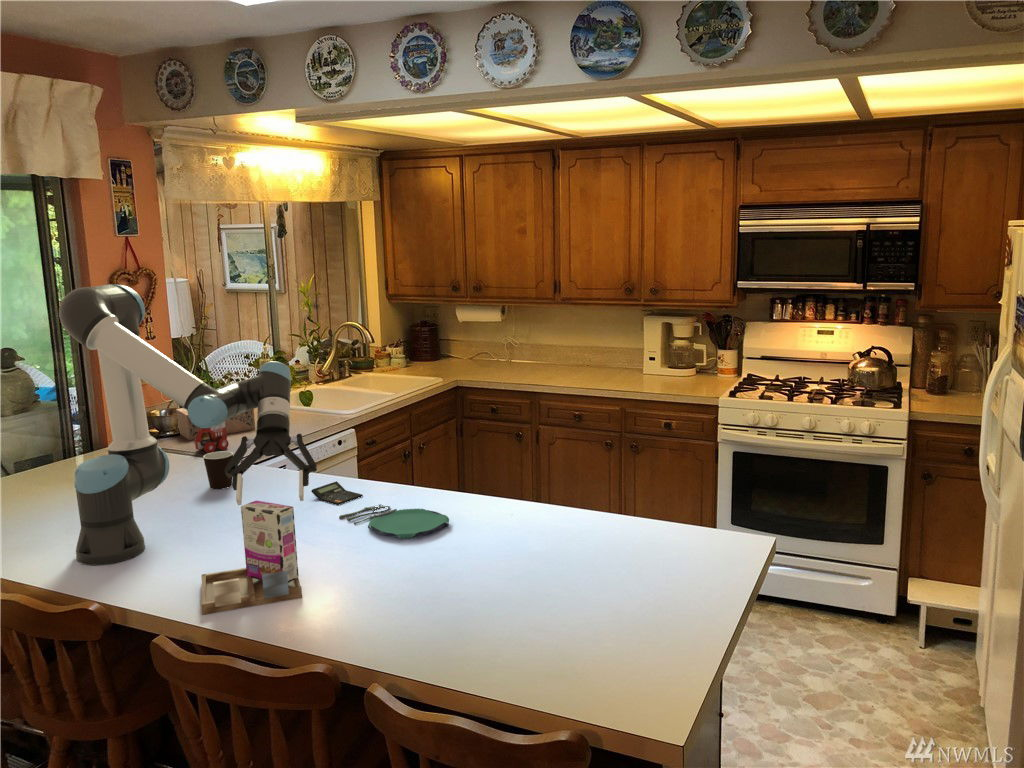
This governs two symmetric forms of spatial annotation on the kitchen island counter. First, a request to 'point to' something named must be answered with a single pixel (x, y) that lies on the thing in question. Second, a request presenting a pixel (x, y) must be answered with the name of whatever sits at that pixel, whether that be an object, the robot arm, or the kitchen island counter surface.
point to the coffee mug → (218, 469)
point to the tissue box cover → (233, 424)
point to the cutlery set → (402, 521)
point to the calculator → (334, 493)
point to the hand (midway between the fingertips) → (270, 500)
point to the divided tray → (245, 590)
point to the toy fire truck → (212, 438)
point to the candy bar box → (269, 539)
